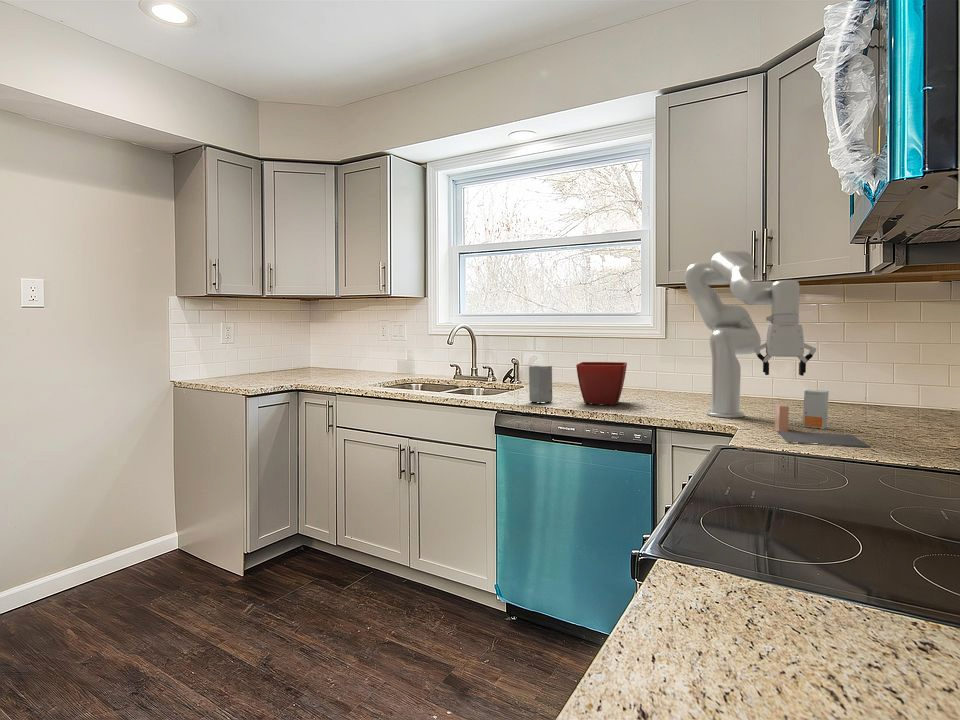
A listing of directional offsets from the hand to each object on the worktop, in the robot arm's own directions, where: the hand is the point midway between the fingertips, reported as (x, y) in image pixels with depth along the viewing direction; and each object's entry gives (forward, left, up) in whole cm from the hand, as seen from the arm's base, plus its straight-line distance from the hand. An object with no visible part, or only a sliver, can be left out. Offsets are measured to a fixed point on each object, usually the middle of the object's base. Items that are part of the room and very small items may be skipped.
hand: (783, 375), depth 176 cm
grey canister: (-37, -85, -18) cm, 95 cm away
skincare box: (-7, +11, -18) cm, 22 cm away
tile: (0, 0, -17) cm, 17 cm away
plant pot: (-42, -60, -18) cm, 76 cm away
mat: (+13, +8, -17) cm, 23 cm away
